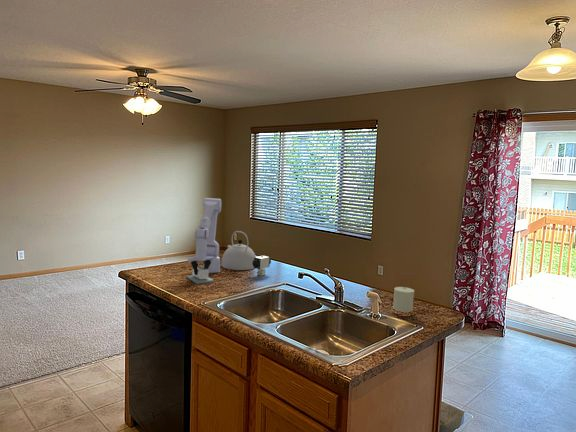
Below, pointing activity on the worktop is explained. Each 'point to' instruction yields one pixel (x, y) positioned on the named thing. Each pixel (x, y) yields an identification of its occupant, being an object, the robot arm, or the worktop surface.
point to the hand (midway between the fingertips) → (200, 274)
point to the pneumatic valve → (261, 264)
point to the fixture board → (199, 279)
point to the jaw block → (201, 272)
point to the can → (403, 299)
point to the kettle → (238, 256)
